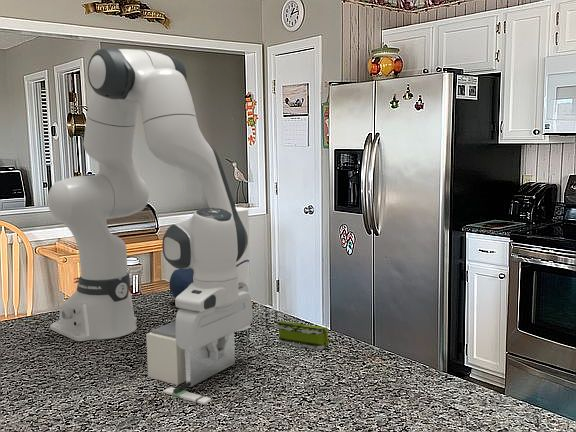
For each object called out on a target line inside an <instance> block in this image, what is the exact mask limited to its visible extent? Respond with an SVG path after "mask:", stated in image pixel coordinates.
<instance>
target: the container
mask: <svg viewBox="0 0 576 432" xmlns="http://www.w3.org/2000/svg"><path fill="white" fill-rule="evenodd" d="M235 208H236V210H237V213H238V216H239V218H240V220H241V222H242V223H243V225H244V228H245V230H246V233H247V237H248V244H247V247H246V250H245V252H244V254H243V255H242V257H241V258H240V259H239V260H238V261H237V262H236V268H237V271H238V283H240V282H244V283H245V284H246V285H247V286H248V293H249V294H250V295H251V290H250V289H251V288H250V287H251V286H250V285H251V283H250V282H251V281H250V234H249V232H250V231H249V230H250V229H249V225H250V224H249V208H247V207H244V206H243V207H242V206H235ZM250 327H251V324H250V325H248V326H246V327H244V328H242V329H239V330H237V331H235V332H242V331H243V332H244V331H245V330H248V329H249V328H250ZM235 332H234V333H235Z"/></svg>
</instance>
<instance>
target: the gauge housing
mask: <svg viewBox="0 0 576 432" xmlns="http://www.w3.org/2000/svg"><path fill="white" fill-rule="evenodd" d="M175 324H176V320H174V321H172V322H170V323H167V324H166V323H165V324H164V325H161V326H158V327H156V328H154V329H151V331H150V332H148V333H146V334H145V335H146V336H145V337H146V359H147V360H146V362H147V363H146V364H147V377H148V378H151V379H154V380H157V381H161V382H164V383H168V384H172V385H176V386H179V385H181V384H184V383H186V366H185V350H184V349H181V348H179V346H178V345H177V343H176V331H175ZM176 388H177V387H172V386H170V387H167V388H165V389H164V390H163V391H162V392H163V393H164V394H167V395H171V396H172V397H176V398H180V399H184V400H187V401H190V402H195V403H197V404H202V405H207V404H208V403H209V402H211V401H212V398H211V397H207V396H205V395H201V394H196V393H193V392H189V391H187V390H185V389H183V390H181V391H179V392H178V393H173V390H174V389H176Z"/></svg>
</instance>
